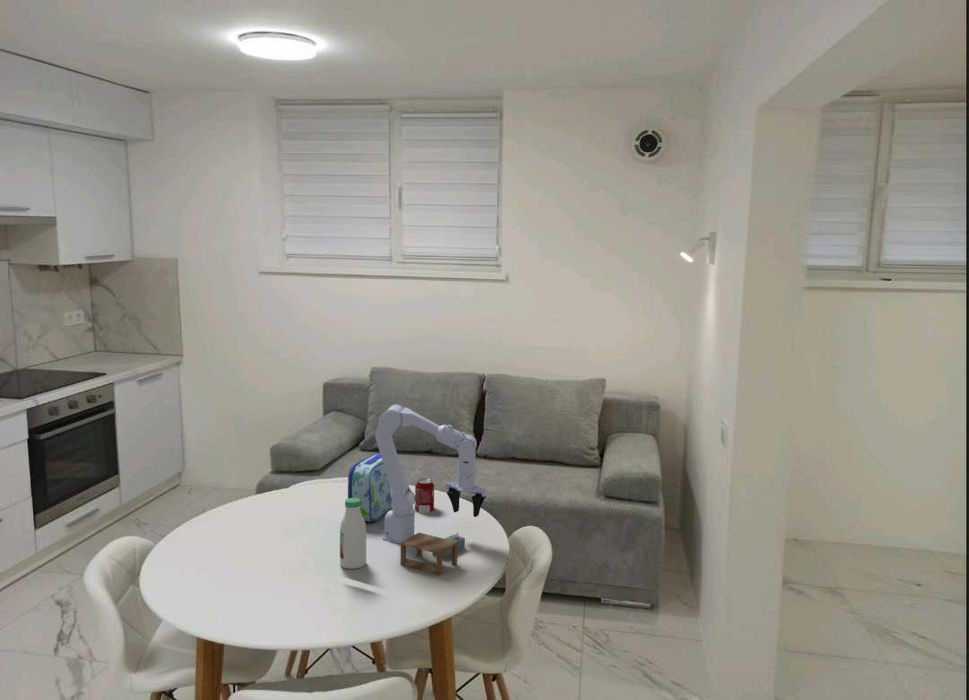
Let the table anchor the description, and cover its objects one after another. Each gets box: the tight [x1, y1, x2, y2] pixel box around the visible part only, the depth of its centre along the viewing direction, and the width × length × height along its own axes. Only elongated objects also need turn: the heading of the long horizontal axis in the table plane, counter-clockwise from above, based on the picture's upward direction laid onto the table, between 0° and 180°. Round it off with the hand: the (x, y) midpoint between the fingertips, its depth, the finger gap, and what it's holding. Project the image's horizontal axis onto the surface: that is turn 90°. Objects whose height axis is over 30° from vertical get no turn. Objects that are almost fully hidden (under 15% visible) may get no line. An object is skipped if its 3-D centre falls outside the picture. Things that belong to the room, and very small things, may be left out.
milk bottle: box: [339, 498, 367, 570], centre depth 221 cm, size 8×8×20 cm
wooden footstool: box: [400, 532, 458, 577], centre depth 223 cm, size 14×10×7 cm
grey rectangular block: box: [431, 531, 466, 560], centre depth 232 cm, size 4×10×6 cm, turn 140°
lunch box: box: [347, 452, 392, 523], centre depth 265 cm, size 26×11×21 cm, turn 164°
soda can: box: [414, 478, 435, 514], centre depth 267 cm, size 7×7×12 cm
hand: (466, 513), depth 240 cm, fingers open, 7 cm apart
